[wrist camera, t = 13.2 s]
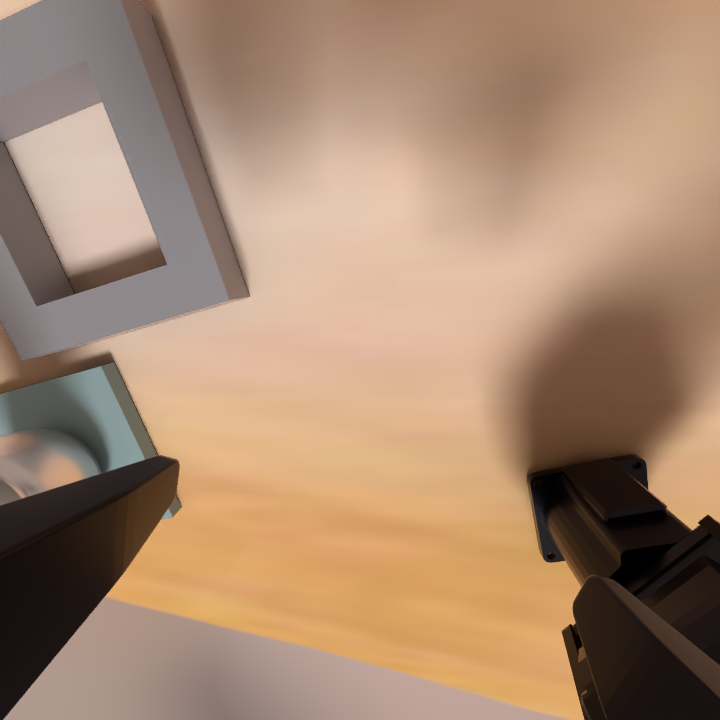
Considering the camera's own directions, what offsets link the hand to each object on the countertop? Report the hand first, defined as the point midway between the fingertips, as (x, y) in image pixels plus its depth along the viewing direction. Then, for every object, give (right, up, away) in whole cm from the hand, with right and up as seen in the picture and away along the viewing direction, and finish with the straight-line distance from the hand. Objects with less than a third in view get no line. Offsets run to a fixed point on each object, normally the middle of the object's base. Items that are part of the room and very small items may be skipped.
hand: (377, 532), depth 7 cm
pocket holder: (-15, +12, +11) cm, 22 cm away
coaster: (-20, -3, +16) cm, 26 cm away
